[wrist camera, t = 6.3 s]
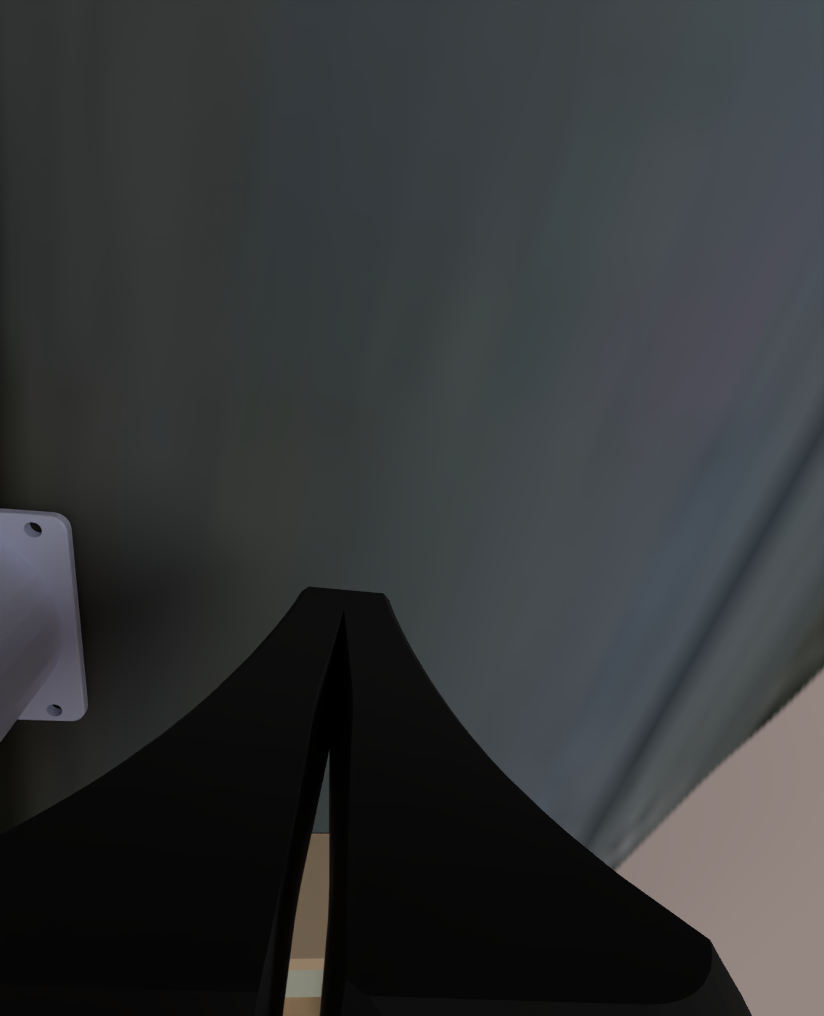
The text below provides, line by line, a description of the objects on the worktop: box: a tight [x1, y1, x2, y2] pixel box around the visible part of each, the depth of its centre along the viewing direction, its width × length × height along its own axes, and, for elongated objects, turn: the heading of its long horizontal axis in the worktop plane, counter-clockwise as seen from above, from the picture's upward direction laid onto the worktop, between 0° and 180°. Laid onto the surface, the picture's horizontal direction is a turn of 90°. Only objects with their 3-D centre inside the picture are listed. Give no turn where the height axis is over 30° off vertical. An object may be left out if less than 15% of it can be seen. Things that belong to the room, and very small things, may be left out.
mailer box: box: [283, 834, 329, 1016], centre depth 25 cm, size 12×10×5 cm
